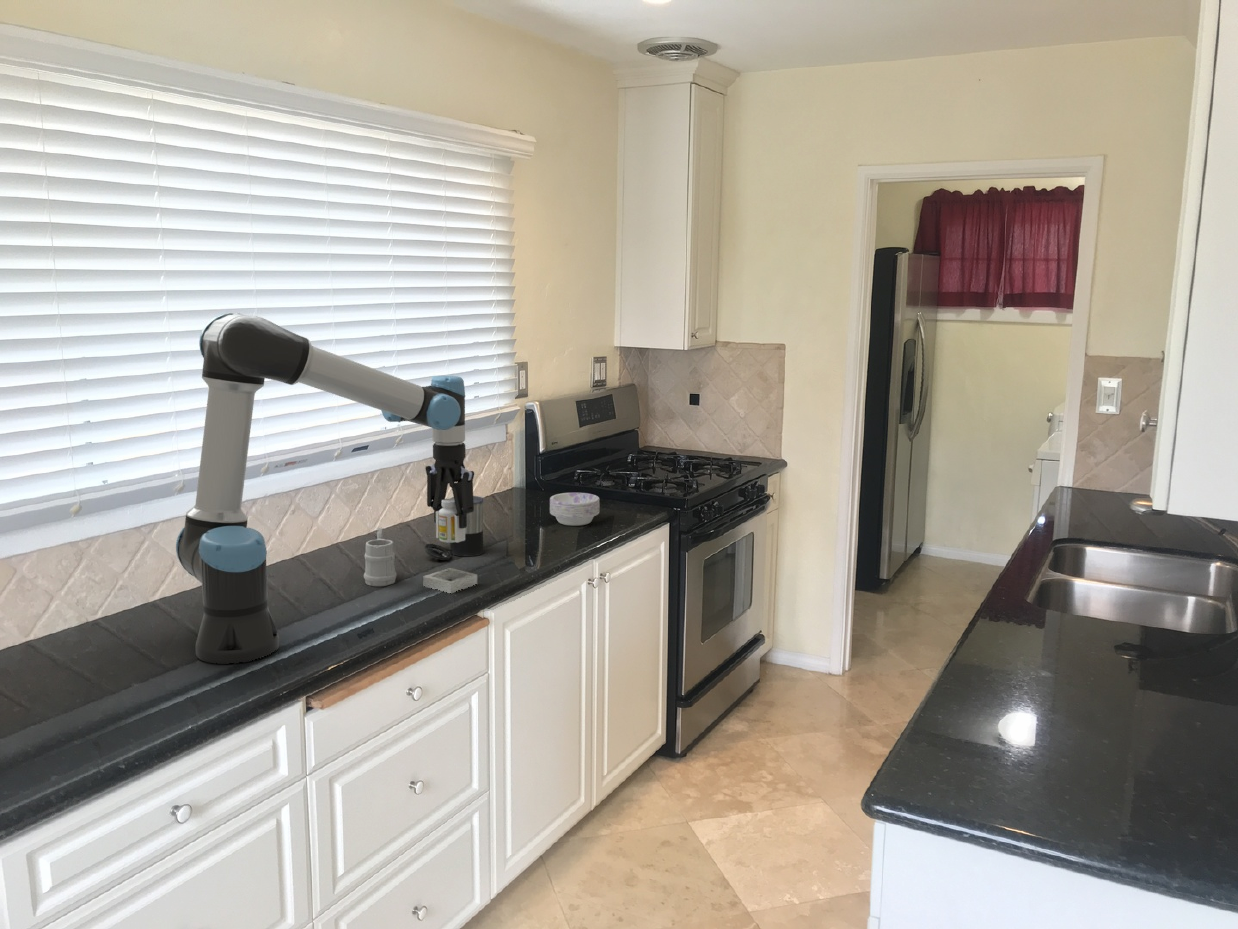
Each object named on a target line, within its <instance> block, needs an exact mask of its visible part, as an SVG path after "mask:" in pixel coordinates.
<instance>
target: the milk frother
mask: <svg viewBox="0 0 1238 929" xmlns="http://www.w3.org/2000/svg"><path fill="white" fill-rule="evenodd" d="M451 498H452V499H454V496H452V497H451ZM485 501H486V500H485V498H484V497H482V496H477V495H473V502H474V511H473V512H471V513H468V514H467V527H466V528H465V540H464V541H461V542H458V543H457V542H452V543H450V545H449V546H450V547H449V548H447V547H443V546H442V545H438V544H434V543H426V544H425V545H424V551H425V553H426V554H428V555H429V556H430V557H431V558H433V559H436V561H441V560H442V561H448V560H450V559H451V558H452V555H453V556H458V557H475V556H479V555H482V554H484V552H485V549H484V502H485ZM437 539H438V540H439V538H437Z"/></svg>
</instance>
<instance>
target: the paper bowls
mask: <svg viewBox="0 0 1238 929" xmlns="http://www.w3.org/2000/svg"><path fill="white" fill-rule="evenodd" d="M600 508H601V507H600V497H599V496H598V495H596V494H592V493H588V492H562V493H556V494H554V495H552V496H550V497H549V514H550V515H551V516H554V517H555V519H556V520H557V522H558V523H559V524H562V525H564V526H573V527H574V526H575V527H576V526H577V527H578V526H579V527H580V526H584V525H588V524H590V523H591V522H592V521H593V519H594V517H595V516H598V515H599V514H600Z"/></svg>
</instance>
